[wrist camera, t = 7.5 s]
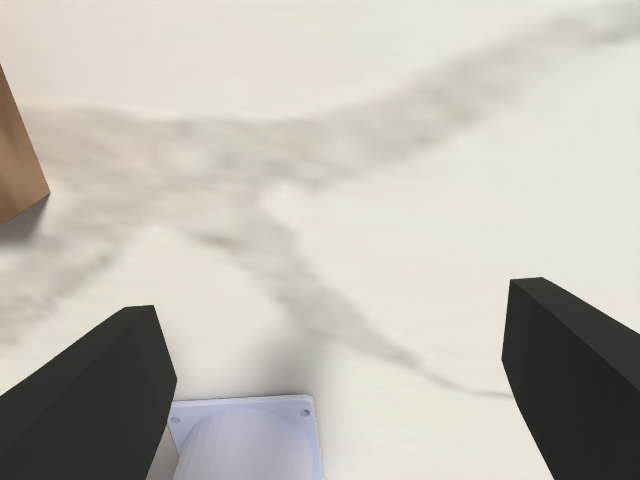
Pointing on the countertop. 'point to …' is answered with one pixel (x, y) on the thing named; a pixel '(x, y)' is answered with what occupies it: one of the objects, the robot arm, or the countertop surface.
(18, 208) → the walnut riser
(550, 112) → the countertop surface
